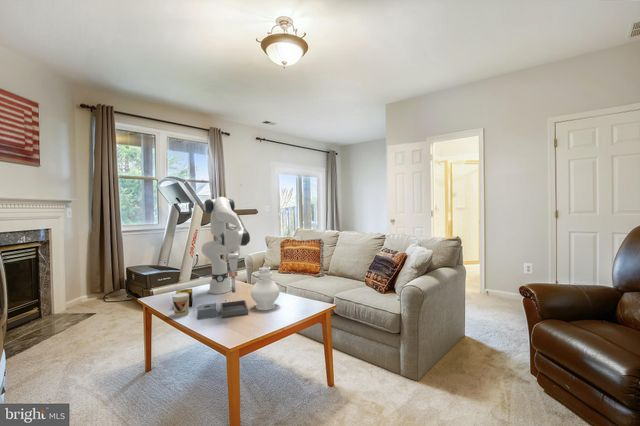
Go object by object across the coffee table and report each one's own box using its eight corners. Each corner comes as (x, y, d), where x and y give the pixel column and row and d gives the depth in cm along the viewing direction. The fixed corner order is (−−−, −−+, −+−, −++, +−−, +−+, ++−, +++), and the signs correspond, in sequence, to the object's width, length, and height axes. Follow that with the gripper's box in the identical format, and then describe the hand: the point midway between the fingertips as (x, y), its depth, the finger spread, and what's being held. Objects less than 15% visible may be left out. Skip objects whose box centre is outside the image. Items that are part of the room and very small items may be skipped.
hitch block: (199, 313, 187) (198, 305, 186) (216, 311, 190) (216, 303, 190) (198, 318, 177) (197, 310, 177) (216, 316, 180) (216, 308, 180)
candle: (175, 309, 195) (174, 294, 194) (176, 304, 204) (175, 290, 204) (192, 307, 199) (192, 291, 198) (192, 302, 208) (192, 288, 208)
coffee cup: (171, 318, 180) (170, 297, 179) (175, 312, 189) (174, 293, 189) (188, 316, 182) (187, 296, 181) (191, 311, 191) (190, 292, 190)
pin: (229, 292, 188) (228, 272, 188) (237, 291, 190) (237, 271, 190) (229, 293, 186) (228, 272, 186) (238, 292, 188) (237, 272, 187)
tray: (221, 308, 195) (221, 302, 194) (245, 305, 199) (245, 300, 199) (221, 318, 178) (221, 312, 177) (248, 314, 182) (247, 308, 182)
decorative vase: (274, 312, 185) (272, 271, 184) (246, 310, 189) (245, 270, 188) (283, 302, 203) (282, 265, 202) (258, 301, 206) (257, 265, 205)
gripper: (226, 251, 196) (227, 272, 197) (227, 256, 177) (228, 279, 177) (236, 250, 198) (237, 271, 199) (238, 255, 179) (239, 278, 179)
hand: (233, 275), depth 188 cm, fingers closed on pin, 2 cm apart
